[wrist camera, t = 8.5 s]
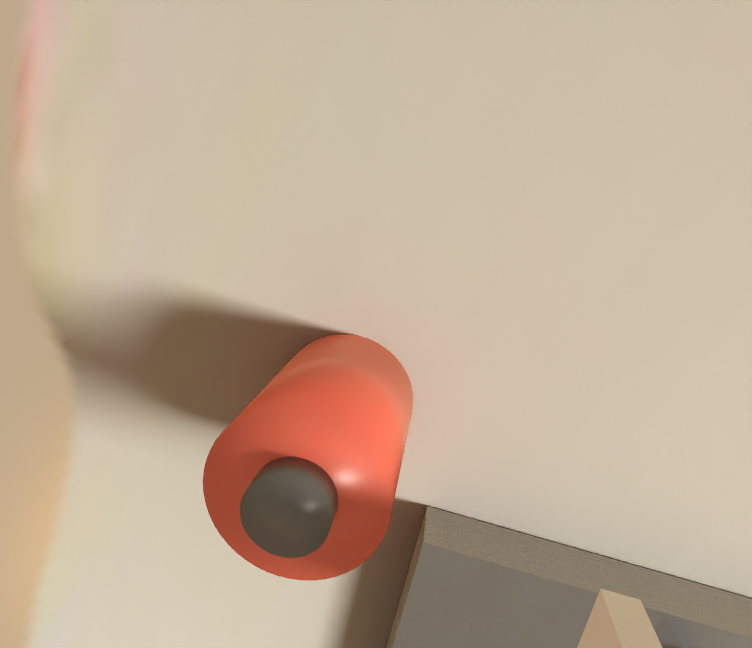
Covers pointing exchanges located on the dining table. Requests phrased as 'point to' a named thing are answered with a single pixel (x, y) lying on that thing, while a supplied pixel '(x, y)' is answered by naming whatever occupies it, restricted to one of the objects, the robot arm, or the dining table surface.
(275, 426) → the cap
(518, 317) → the dining table surface
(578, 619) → the panel
